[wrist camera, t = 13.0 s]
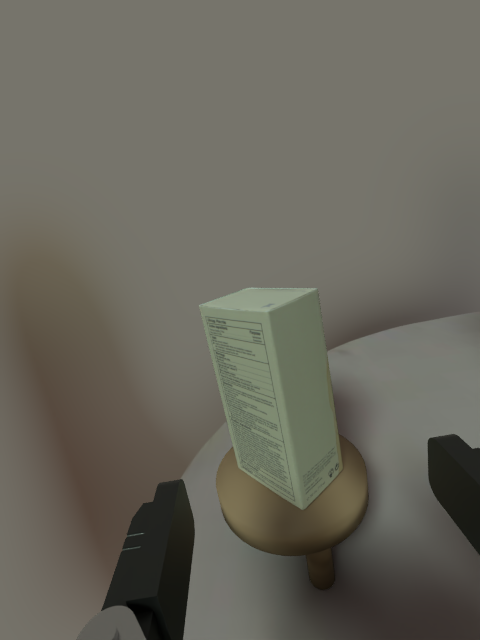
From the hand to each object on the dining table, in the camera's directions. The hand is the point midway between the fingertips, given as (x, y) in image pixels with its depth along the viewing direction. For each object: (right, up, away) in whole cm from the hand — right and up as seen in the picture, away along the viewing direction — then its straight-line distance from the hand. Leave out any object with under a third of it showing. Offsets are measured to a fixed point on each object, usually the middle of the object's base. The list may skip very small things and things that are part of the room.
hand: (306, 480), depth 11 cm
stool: (+2, -11, +13) cm, 17 cm away
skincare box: (+1, -5, +12) cm, 13 cm away
